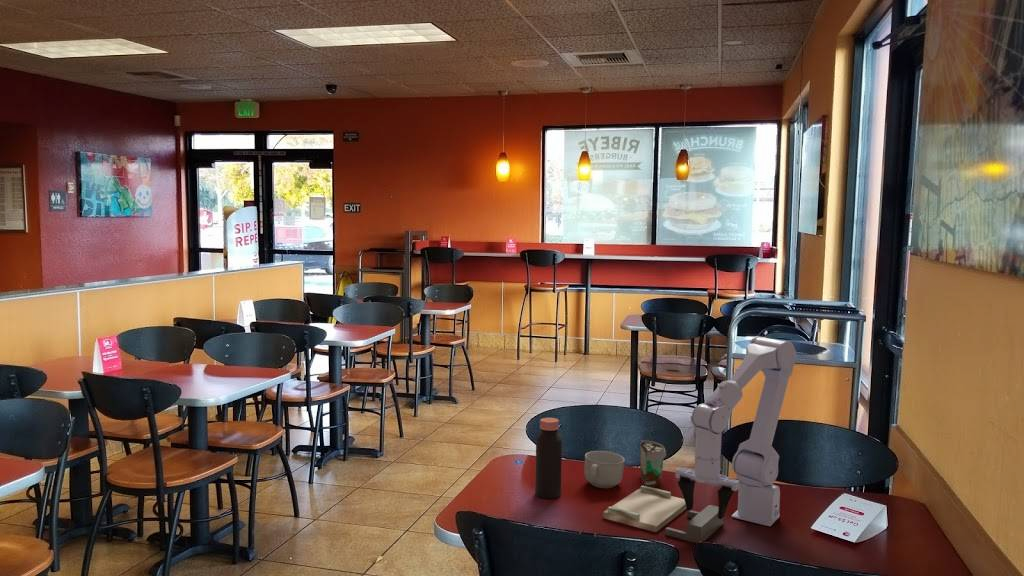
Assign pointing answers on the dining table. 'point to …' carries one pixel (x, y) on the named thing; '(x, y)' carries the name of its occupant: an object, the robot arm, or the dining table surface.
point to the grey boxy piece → (698, 525)
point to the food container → (651, 462)
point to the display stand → (646, 509)
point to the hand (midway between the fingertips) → (705, 513)
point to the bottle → (548, 460)
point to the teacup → (603, 468)
